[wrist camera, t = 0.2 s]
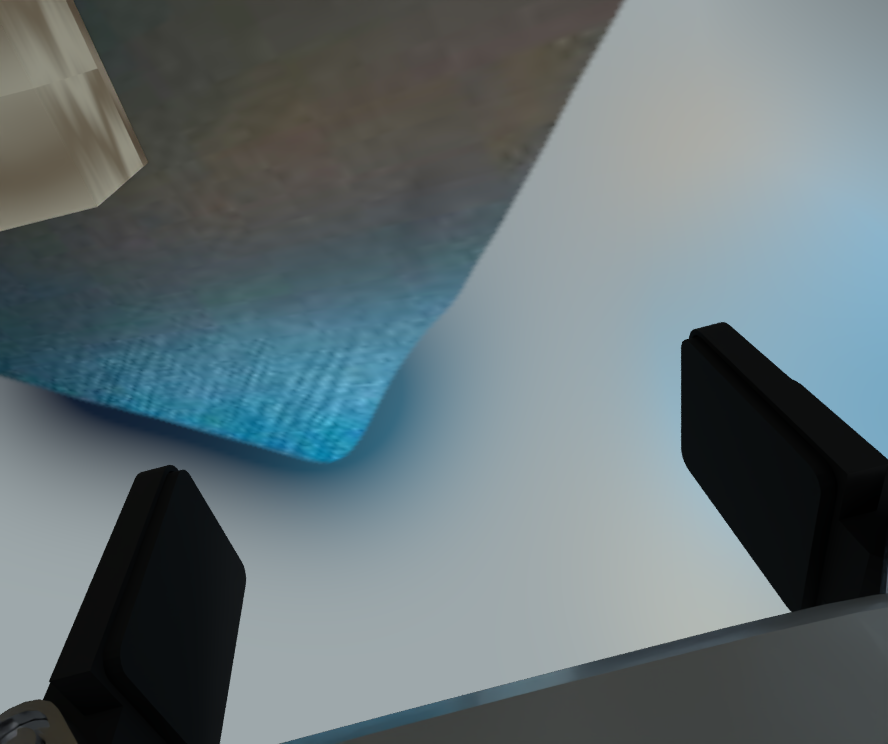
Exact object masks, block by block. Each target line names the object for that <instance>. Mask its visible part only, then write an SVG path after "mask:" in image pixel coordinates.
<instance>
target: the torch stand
mask: <svg viewBox="0 0 888 744" xmlns="http://www.w3.org/2000/svg"><path fill="white" fill-rule="evenodd" d="M147 163H148V161H147V159H146V157H145V155H144V152H143V150H142V148H141V146H140V144H139V142H138V139H137V137H136V135H135V133H134V131H133V129H132V126H131V124H130V122H129V120H128V118H127V116H126V113H125V111H124V109H123V107H122V105H121V103H120V101H119V98H118V96H117V94H116V92H115V90H114V88H113V85H112V83H111V81H110V79H109V77H108V75H107V72H106V70H105V68H104V66H103V64H102V62H101V59H100V57H99V55H98V53H97V51H96V49H95V47H94V44H93V42H92V40H91V38H90V36H89V34H88V31H87V29H86V27H85V25H84V23H83V21H82V18H81V16H80V14H79V12H78V10H77V8H76V5H75V3H74V1H73V0H0V231H3V230H7V229H11V228H15V227H19V226H23V225H27V224H31V223H35V222H39V221H43V220H46V219H50V218H54V217H58V216H62V215H66V214H70V213H74V212H78V211H82V210H86V209H90V208H94V207H98V206H99V205H100V204H101V203H102V202H103V201H105V200H106V199H107V198H108V197H109V196H110V195H111V194H113V193H114V192H115V191H116V190H117V189H118V188H119V187H121V186H122V185H123V184H124V183H125V182H126V181H127V180H129V179H130V178H131V177H132V176H133V175H134V174H135V173H137V172H138V171H139V170H140V169H141V168H142V167H143V166H145V165H146V164H147Z"/></svg>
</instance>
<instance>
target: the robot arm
mask: <svg viewBox="0 0 888 744" xmlns="http://www.w3.org/2000/svg"><path fill="white" fill-rule="evenodd" d="M681 451H682V456H683V459H684V462H685V464H686V466H687V468H688V469H689V471H690V472H691V474H692V475H693V477H694V478H695V479H696V481H697V482H698V484H699V485H700V486H701V488H702V489H703V491H704V492H705V493H706V495H707V496H708V498H709V499H710V500H711V502H712V503H713V504H714V506H715V507H716V509H717V510H718V511H719V513H720V514H721V515H722V517H723V518H724V520H725V521H726V523H727V524H728V525H729V527H730V528H731V529H732V531H733V532H734V534H735V535H736V536H737V538H738V539H739V541H740V542H741V544H742V545H743V546H744V548H745V549H746V550H747V552H748V553H749V554H750V556H751V557H752V559H753V560H754V562H755V563H756V564H757V566H758V567H759V569H760V570H761V571H762V573H763V574H764V576H765V577H766V578H767V580H768V581H769V583H770V584H771V585H772V587H773V588H774V589H775V591H776V592H777V593H778V595H779V596H780V598H781V599H782V601H783V602H784V603H785V605H786V606H787V607H788V608H789V610H790V611H791V612H790V613H786V614H782V615H778V616H774V617H769V618H765V619H761V620H757V621H752V622H748V623H744V624H740V625H736V626H731V627H727V628H723V629H719V630H715V631H711V632H707V633H704V634H700V635H696V636H692V637H688V638H684V639H680V640H676V641H672V642H668V643H664V644H660V645H657V646H652V647H648V648H644V649H641V650H637V651H633V652H629V653H625V654H621V655H617V656H613V657H609V658H605V659H601V660H598V661H593V662H589V663H586V664H582V665H578V666H574V667H570V668H566V669H562V670H558V671H554V672H551V673H547V674H543V675H539V676H535V677H531V678H527V679H524V680H520V681H516V682H512V683H508V684H504V685H500V686H497V687H493V688H489V689H485V690H482V691H477V692H474V693H470V694H466V695H462V696H458V697H455V698H451V699H447V700H443V701H439V702H435V703H432V704H428V705H424V706H420V707H416V708H412V709H409V710H405V711H401V712H397V713H393V714H389V715H386V716H382V717H378V718H375V719H371V720H367V721H363V722H359V723H355V724H352V725H348V726H344V727H340V728H337V729H333V730H329V731H325V732H322V733H318V734H314V735H311V736H307V737H303V738H299V739H295V740H291V741H288V742H284V743H280V744H888V459H887V458H886V457H885V456H883V455H882V454H881V453H880V452H879V451H878V450H876V449H875V448H874V447H873V446H872V445H871V444H869V443H868V442H867V441H866V440H865V439H864V438H862V437H861V436H860V435H859V434H858V433H857V432H856V431H854V430H853V429H852V428H851V427H850V426H849V425H847V424H846V423H845V422H844V421H843V420H842V419H841V418H839V417H838V416H837V415H836V414H835V413H833V412H832V411H831V410H830V409H829V408H828V407H827V406H826V405H824V404H823V403H822V402H821V401H820V400H819V399H817V398H816V397H815V396H814V395H813V394H812V393H811V392H809V391H808V390H807V389H806V388H805V387H804V386H802V385H801V384H800V383H798V382H797V381H795V380H792V379H791V378H790V377H788V376H787V375H786V374H785V373H784V372H782V371H781V370H780V369H779V368H778V367H777V366H776V365H775V364H774V363H772V362H771V361H770V360H769V359H768V358H767V357H766V356H764V355H763V354H762V353H761V352H760V351H759V350H757V349H756V348H755V347H754V346H753V345H752V344H751V343H749V342H748V341H747V340H746V339H745V338H744V337H743V336H741V335H740V334H739V333H738V332H737V331H736V330H735V329H733V328H732V327H731V326H730V325H729V324H727V323H725V322H721V323H717V324H713V325H709V326H705V327H701V328H697V329H694V330H692V331H691V333H690V336H689V339H686V340H684V341H683V342H682V345H681ZM245 585H246V574H245V569H244V565H243V564H242V561H241V560H240V558H239V556H238V555H237V553H236V551H235V550H234V548H233V547H232V545H231V543H230V541H229V540H228V538H227V536H226V535H225V533H224V531H223V530H222V528H221V526H220V525H219V523H218V521H217V520H216V518H215V516H214V515H213V513H212V511H211V510H210V508H209V506H208V505H207V503H206V501H205V499H204V498H203V496H202V494H201V493H200V491H199V489H198V488H197V486H196V484H195V483H194V481H193V479H192V478H191V476H190V474H189V473H188V472H187V471H186V470H180V471H179V470H178V469H177V468H176V467H175V466H173V465H167V466H164V467H160V468H156V469H152V470H148V471H144V472H141V473H139V474H138V475H137V476H136V478H135V480H134V482H133V485H132V487H131V489H130V492H129V494H128V496H127V499H126V501H125V503H124V506H123V508H122V510H121V513H120V515H119V518H118V520H117V522H116V525H115V527H114V529H113V532H112V534H111V536H110V539H109V541H108V543H107V546H106V548H105V550H104V553H103V555H102V558H101V560H100V562H99V565H98V567H97V569H96V572H95V574H94V577H93V579H92V581H91V583H90V586H89V588H88V591H87V593H86V596H85V598H84V600H83V603H82V605H81V607H80V609H79V612H78V614H77V617H76V619H75V621H74V624H73V626H72V628H71V631H70V633H69V635H68V638H67V640H66V642H65V645H64V647H63V650H62V652H61V655H60V657H59V659H58V662H57V664H56V666H55V669H54V671H53V673H52V676H51V678H50V680H49V682H50V684H49V687H48V689H47V692H46V694H45V696H44V699H43V700H33V701H28V702H24V703H22V704H19V705H17V706H15V707H12V708H10V709H8V710H7V711H5V712H4V713H2V714H1V715H0V744H220V739H221V733H222V726H223V720H224V714H225V708H226V702H227V696H228V690H229V684H230V677H231V671H232V665H233V659H234V653H235V647H236V640H237V635H238V628H239V622H240V616H241V610H242V604H243V597H244V592H245Z"/></svg>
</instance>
